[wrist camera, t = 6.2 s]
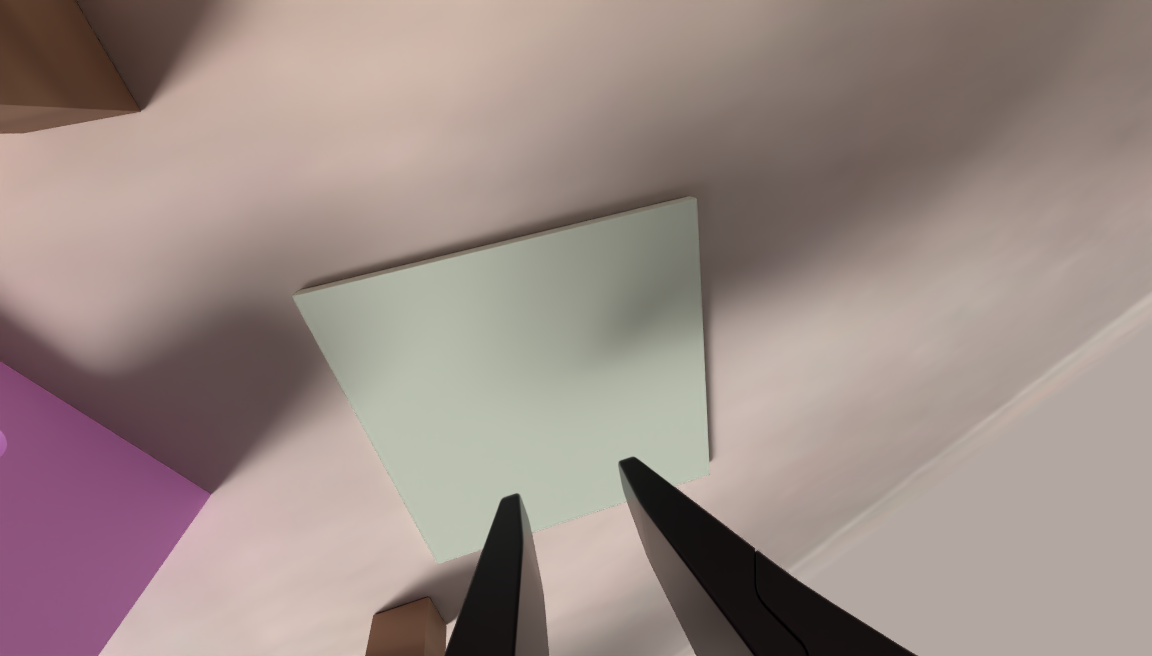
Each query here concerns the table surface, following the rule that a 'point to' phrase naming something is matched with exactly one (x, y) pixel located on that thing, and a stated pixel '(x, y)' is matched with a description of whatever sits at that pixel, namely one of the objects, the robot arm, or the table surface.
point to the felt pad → (526, 369)
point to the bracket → (77, 523)
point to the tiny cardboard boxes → (95, 91)
